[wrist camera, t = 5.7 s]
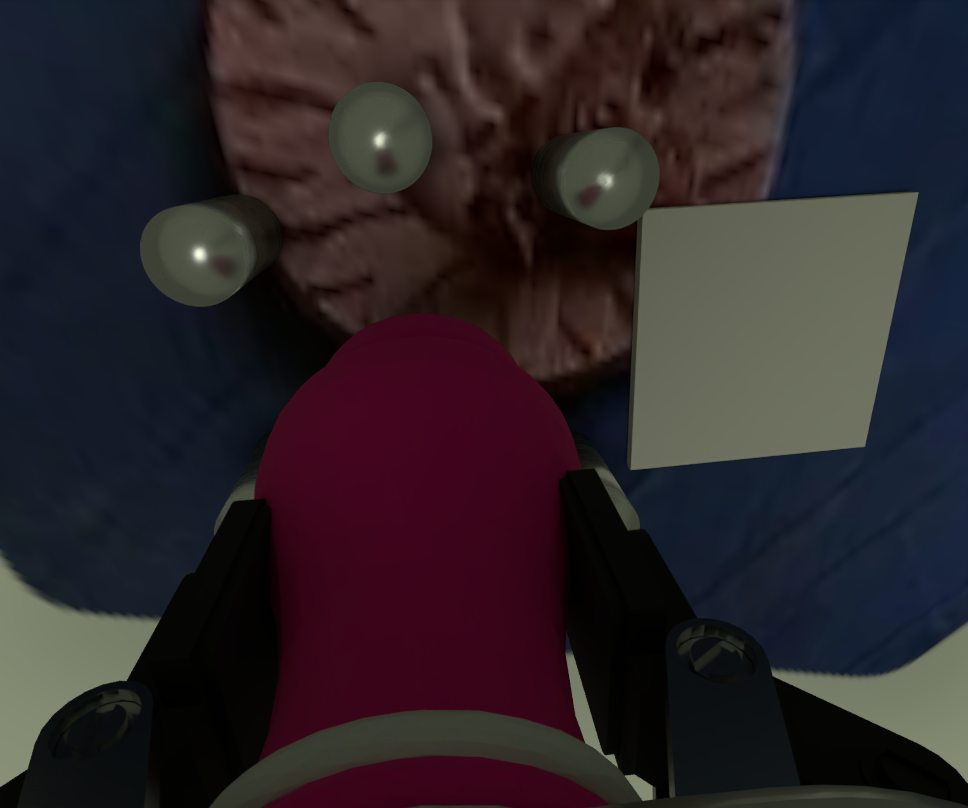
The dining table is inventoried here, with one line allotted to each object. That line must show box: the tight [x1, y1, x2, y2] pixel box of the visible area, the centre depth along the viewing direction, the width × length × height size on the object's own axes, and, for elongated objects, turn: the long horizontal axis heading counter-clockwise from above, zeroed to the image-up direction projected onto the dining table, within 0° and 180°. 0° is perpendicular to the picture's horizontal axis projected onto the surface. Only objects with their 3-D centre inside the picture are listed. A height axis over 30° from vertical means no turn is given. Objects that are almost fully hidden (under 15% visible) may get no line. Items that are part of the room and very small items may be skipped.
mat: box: [627, 192, 918, 470], centre depth 28 cm, size 12×12×1 cm
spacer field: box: [140, 82, 660, 536], centre depth 24 cm, size 16×19×6 cm
